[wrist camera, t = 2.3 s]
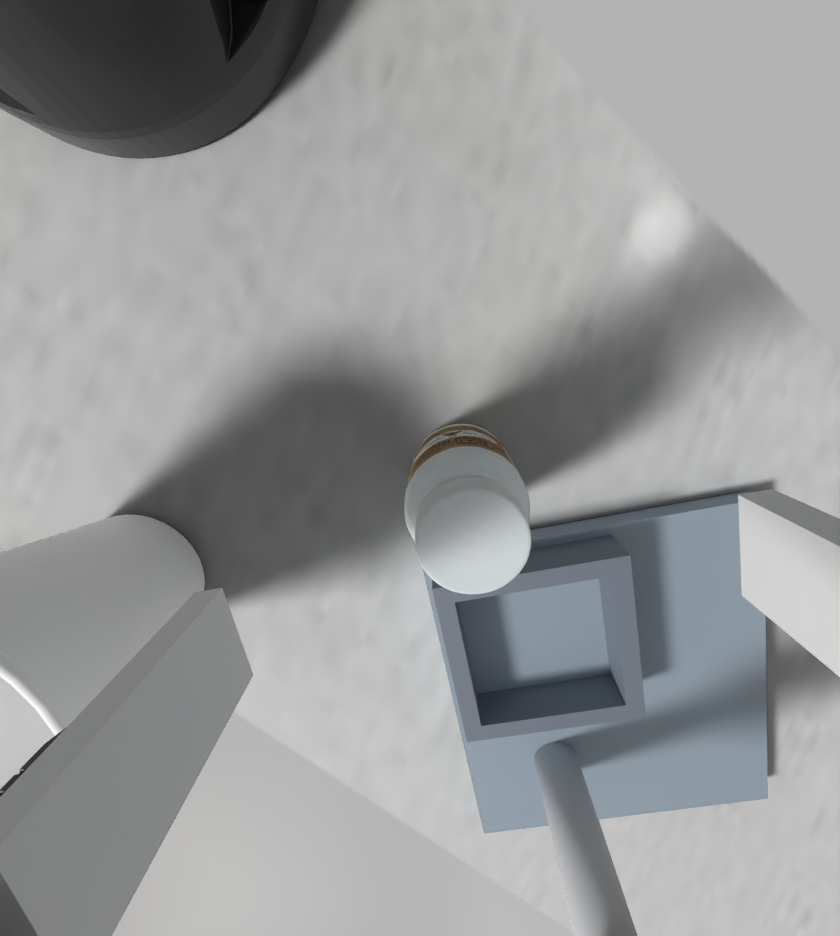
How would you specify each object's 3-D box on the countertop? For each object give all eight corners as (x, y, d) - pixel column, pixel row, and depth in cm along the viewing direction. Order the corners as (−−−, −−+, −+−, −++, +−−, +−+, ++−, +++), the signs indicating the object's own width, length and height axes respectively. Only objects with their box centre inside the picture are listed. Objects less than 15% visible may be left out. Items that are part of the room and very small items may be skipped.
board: (421, 549, 22) (410, 714, 13) (749, 490, 21) (1016, 624, 11) (482, 815, 27) (509, 1086, 17) (754, 780, 25) (949, 1053, 16)
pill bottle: (494, 409, 20) (528, 453, 13) (519, 500, 21) (563, 589, 14) (398, 438, 21) (377, 496, 13) (427, 525, 22) (423, 625, 14)
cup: (141, 430, 21) (-157, 528, 10) (288, 588, 23) (163, 804, 12) (4, 551, 23) (-363, 736, 12) (151, 686, 25) (-57, 946, 14)
